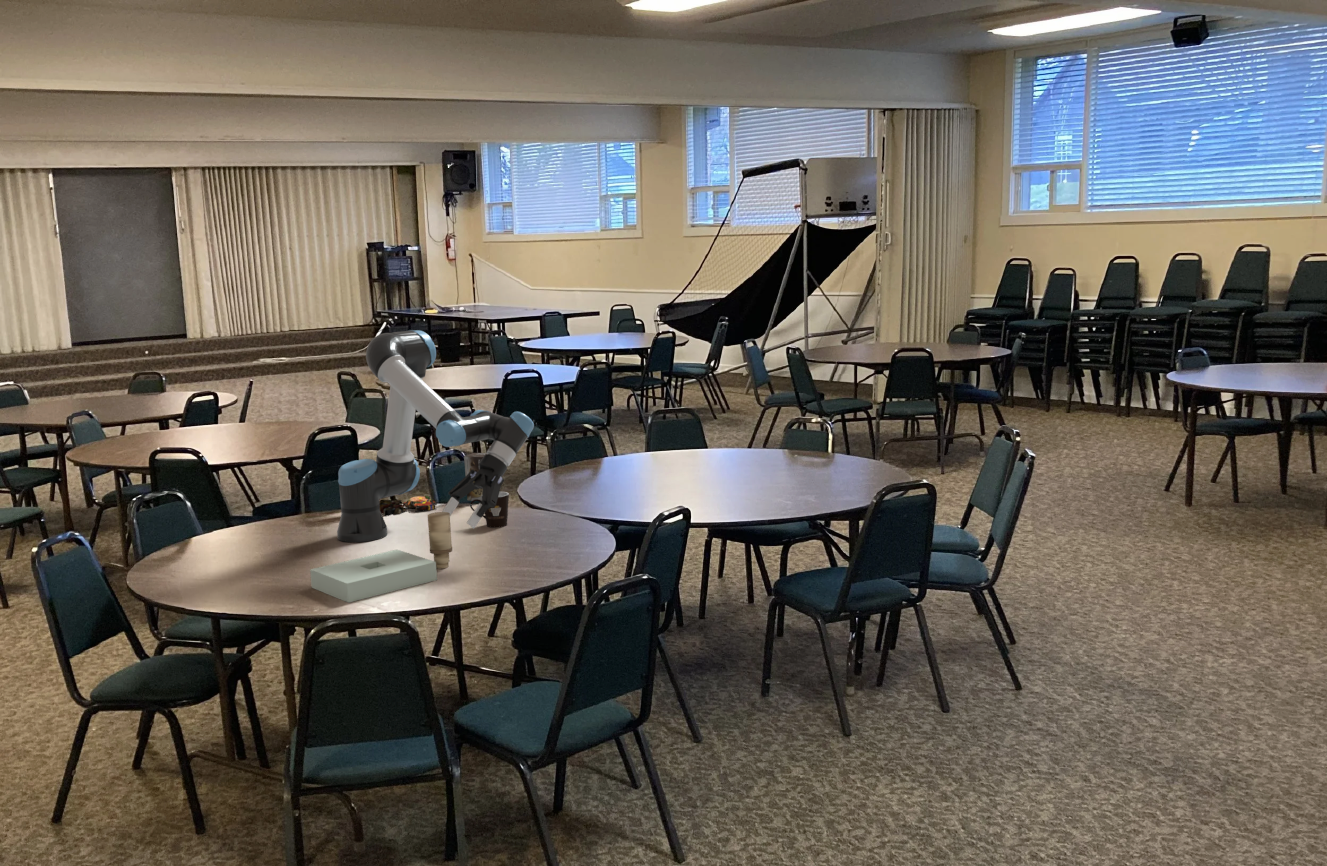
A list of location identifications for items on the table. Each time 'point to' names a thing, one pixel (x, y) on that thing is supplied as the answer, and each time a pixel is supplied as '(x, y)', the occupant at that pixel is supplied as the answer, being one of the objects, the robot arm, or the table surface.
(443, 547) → the beech peg
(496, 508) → the coffee mug
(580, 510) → the table surface
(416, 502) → the food
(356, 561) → the sage board
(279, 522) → the table surface
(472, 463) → the printed box
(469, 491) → the robot arm
